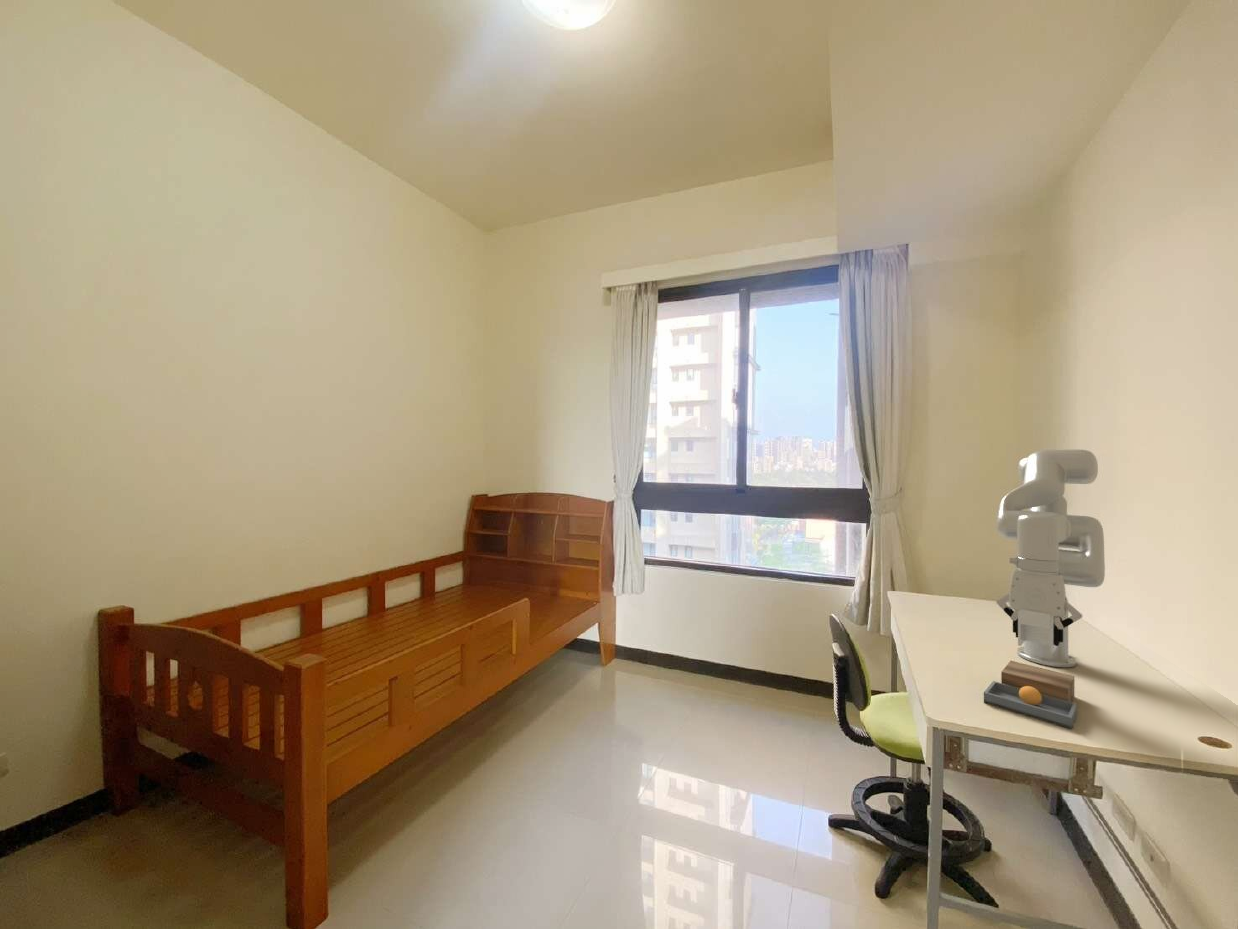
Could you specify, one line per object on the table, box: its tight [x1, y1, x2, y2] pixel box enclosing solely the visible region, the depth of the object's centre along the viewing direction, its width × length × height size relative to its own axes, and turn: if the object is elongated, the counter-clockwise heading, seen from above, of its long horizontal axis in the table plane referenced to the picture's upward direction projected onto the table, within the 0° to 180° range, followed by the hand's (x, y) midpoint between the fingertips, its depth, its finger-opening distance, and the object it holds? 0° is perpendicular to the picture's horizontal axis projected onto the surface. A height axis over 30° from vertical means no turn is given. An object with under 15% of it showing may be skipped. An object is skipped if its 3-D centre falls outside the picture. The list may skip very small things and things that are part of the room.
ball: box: [1019, 686, 1042, 706], centre depth 110 cm, size 4×4×4 cm
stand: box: [1000, 660, 1075, 703], centre depth 116 cm, size 10×12×5 cm
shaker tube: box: [1017, 609, 1057, 653], centre depth 116 cm, size 6×6×9 cm
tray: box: [983, 680, 1078, 730], centre depth 110 cm, size 9×15×2 cm, turn 41°
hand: (1037, 639), depth 116 cm, fingers closed on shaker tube, 6 cm apart
